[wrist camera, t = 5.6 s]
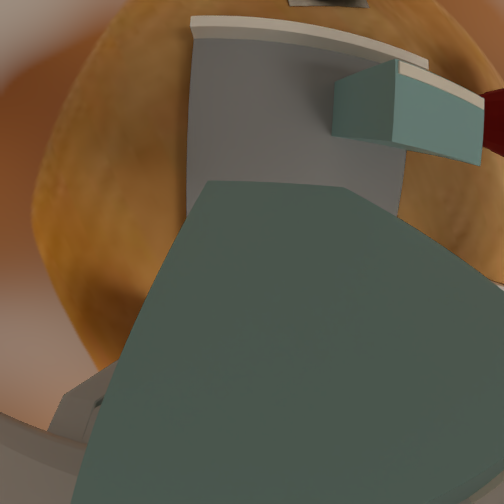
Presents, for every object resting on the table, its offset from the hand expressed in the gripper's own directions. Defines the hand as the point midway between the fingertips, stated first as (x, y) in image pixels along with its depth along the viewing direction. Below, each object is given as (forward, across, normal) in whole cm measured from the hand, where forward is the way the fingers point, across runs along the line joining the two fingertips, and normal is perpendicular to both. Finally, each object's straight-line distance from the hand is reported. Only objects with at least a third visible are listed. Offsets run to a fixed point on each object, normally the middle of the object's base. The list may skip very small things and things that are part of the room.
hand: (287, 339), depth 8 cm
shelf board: (+20, -4, -5) cm, 21 cm away
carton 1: (+4, 0, 0) cm, 4 cm away
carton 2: (+18, -10, -8) cm, 22 cm away
